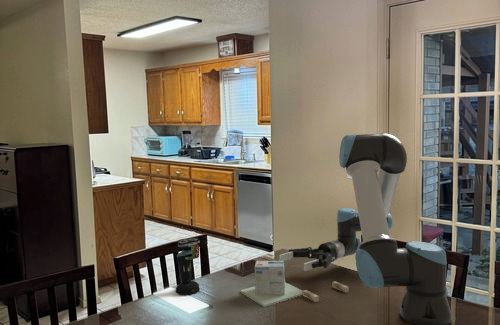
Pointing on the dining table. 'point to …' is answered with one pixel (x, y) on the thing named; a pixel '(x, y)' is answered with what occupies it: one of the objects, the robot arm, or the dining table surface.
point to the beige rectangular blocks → (334, 285)
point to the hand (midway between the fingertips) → (291, 262)
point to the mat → (272, 299)
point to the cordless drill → (187, 266)
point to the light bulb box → (269, 278)
